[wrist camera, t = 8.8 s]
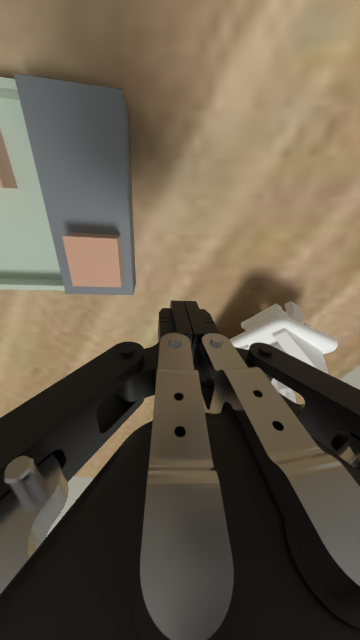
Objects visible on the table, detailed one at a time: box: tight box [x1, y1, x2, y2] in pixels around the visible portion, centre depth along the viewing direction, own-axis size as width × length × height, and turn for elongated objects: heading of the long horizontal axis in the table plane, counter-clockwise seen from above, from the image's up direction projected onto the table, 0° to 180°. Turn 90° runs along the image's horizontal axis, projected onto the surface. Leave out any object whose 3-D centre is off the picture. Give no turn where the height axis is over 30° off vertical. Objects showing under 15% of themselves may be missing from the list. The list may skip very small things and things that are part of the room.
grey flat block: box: [14, 73, 136, 295], centre depth 22 cm, size 18×8×4 cm, turn 176°
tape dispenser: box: [229, 301, 338, 403], centre depth 32 cm, size 20×11×13 cm, turn 147°
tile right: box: [62, 232, 124, 287], centre depth 22 cm, size 5×5×2 cm
